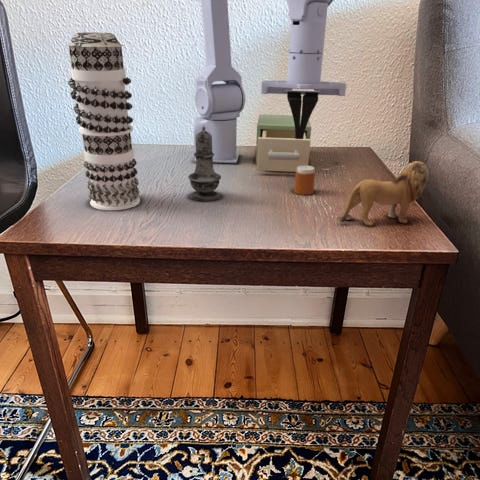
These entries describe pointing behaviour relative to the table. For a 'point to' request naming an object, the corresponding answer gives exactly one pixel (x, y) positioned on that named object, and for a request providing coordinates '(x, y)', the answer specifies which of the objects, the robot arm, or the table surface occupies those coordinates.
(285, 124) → the cabinet
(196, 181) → the stone fountain
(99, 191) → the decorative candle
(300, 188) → the spice bottle
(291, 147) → the drawer
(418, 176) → the lion figurine
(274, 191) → the table surface
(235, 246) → the table surface
